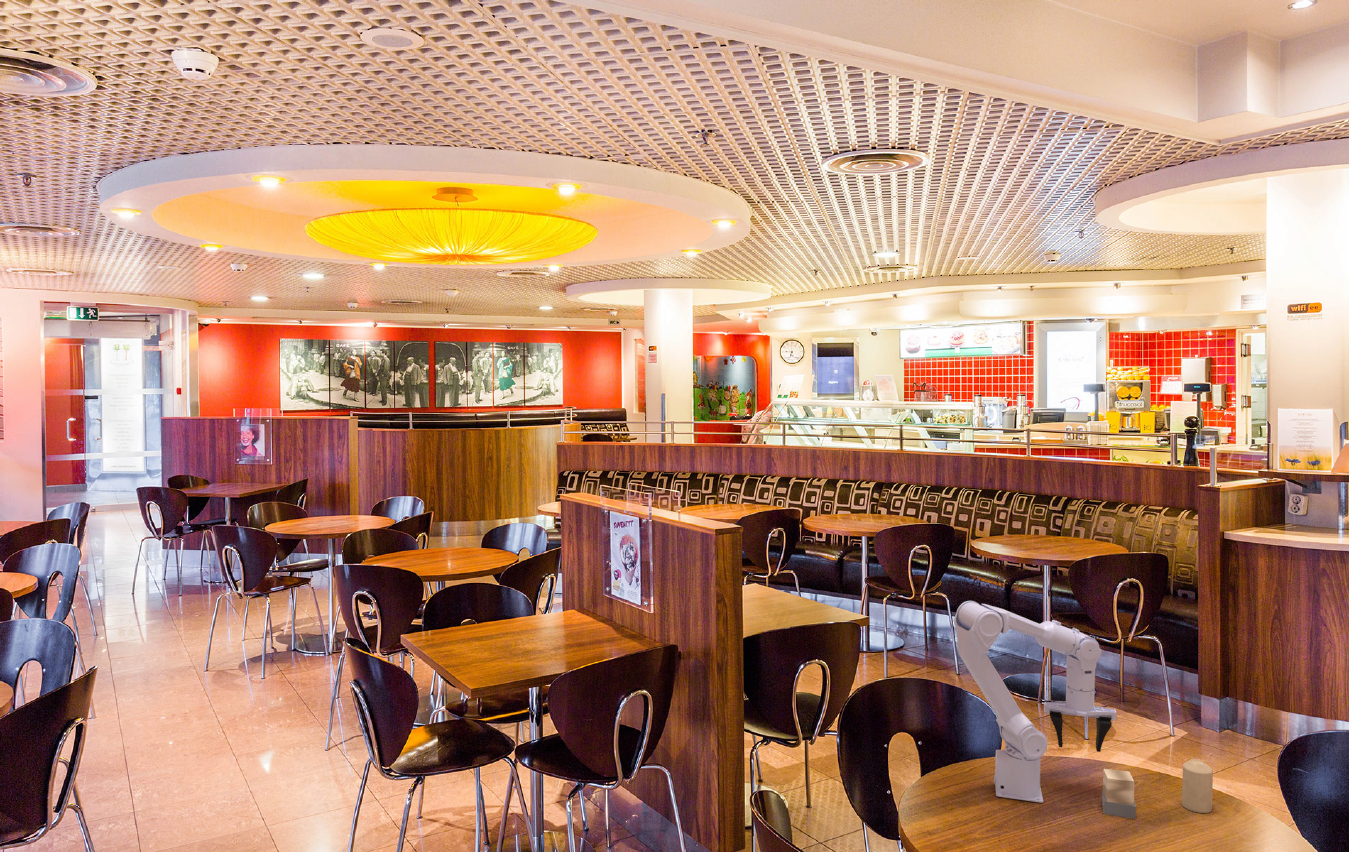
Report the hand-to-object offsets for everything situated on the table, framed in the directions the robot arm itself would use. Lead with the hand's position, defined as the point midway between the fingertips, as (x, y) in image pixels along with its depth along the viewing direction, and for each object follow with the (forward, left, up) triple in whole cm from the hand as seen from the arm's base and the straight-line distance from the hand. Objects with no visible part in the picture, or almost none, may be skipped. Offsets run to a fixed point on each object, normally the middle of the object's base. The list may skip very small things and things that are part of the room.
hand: (1079, 747), depth 193 cm
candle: (+23, -1, -10) cm, 25 cm away
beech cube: (+7, -8, -7) cm, 13 cm away
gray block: (+7, -8, -10) cm, 14 cm away
